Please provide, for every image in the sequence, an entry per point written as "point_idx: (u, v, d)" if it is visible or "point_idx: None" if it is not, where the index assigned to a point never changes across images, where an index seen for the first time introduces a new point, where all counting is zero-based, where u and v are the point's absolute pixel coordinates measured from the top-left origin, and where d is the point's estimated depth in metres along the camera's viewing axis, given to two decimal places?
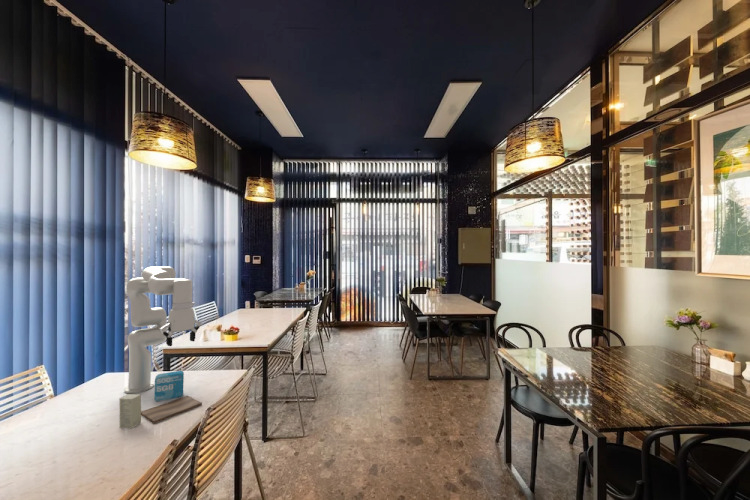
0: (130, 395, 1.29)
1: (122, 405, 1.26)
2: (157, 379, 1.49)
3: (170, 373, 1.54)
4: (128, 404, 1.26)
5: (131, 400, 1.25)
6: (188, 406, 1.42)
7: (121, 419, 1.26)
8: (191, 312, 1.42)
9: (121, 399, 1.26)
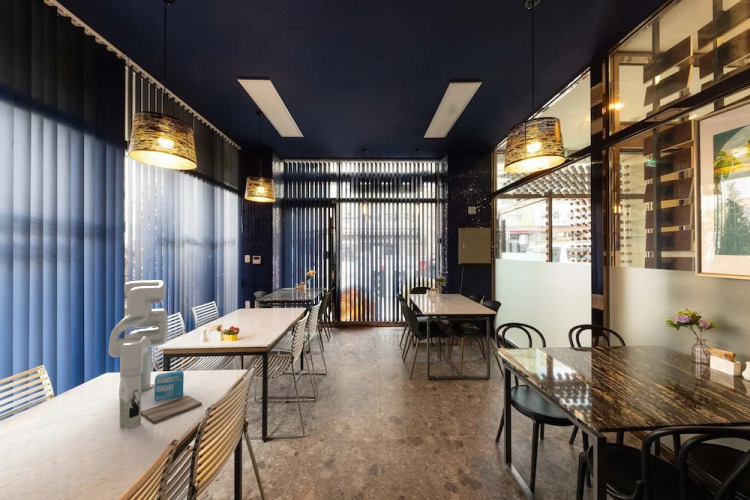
0: None
1: (122, 405, 1.26)
2: (157, 379, 1.49)
3: (170, 373, 1.54)
4: (128, 404, 1.26)
5: None
6: (188, 406, 1.42)
7: (121, 419, 1.26)
8: None
9: (121, 399, 1.26)
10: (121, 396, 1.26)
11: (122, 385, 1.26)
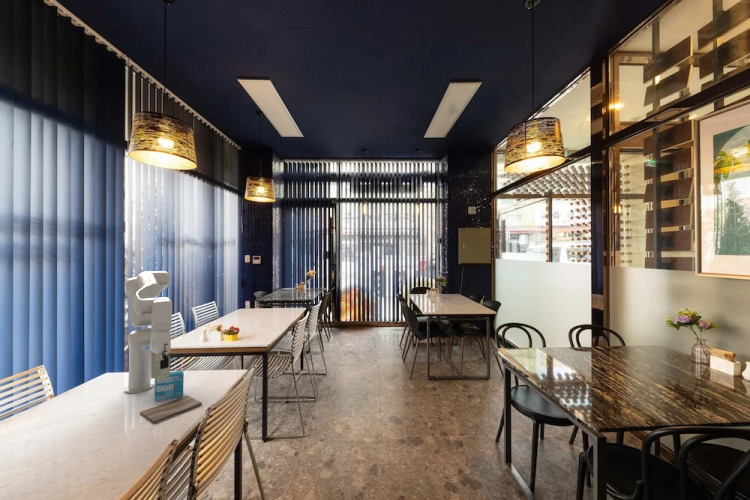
0: None
1: (153, 357, 1.35)
2: (157, 379, 1.49)
3: (170, 373, 1.54)
4: (159, 356, 1.35)
5: None
6: (188, 406, 1.42)
7: (152, 370, 1.35)
8: None
9: (152, 352, 1.36)
10: (152, 349, 1.36)
11: (153, 339, 1.36)
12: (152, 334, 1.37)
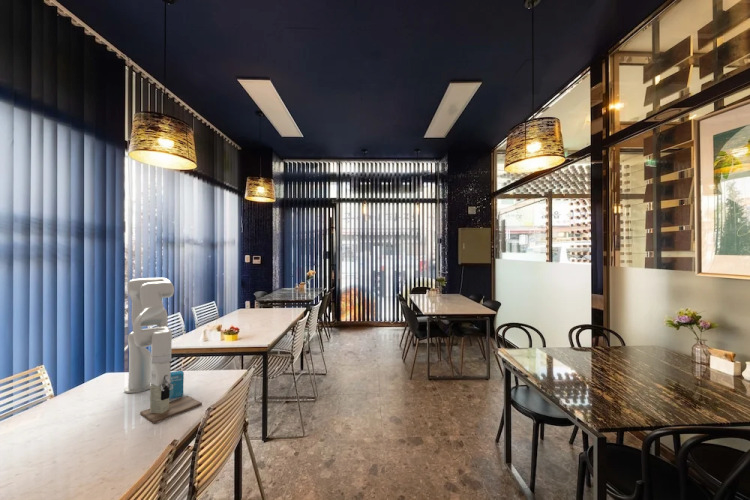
0: None
1: (153, 392, 1.35)
2: None
3: None
4: (158, 391, 1.35)
5: None
6: (188, 406, 1.42)
7: (152, 405, 1.35)
8: None
9: (152, 387, 1.35)
10: (152, 381, 1.35)
11: (153, 371, 1.35)
12: (152, 365, 1.36)
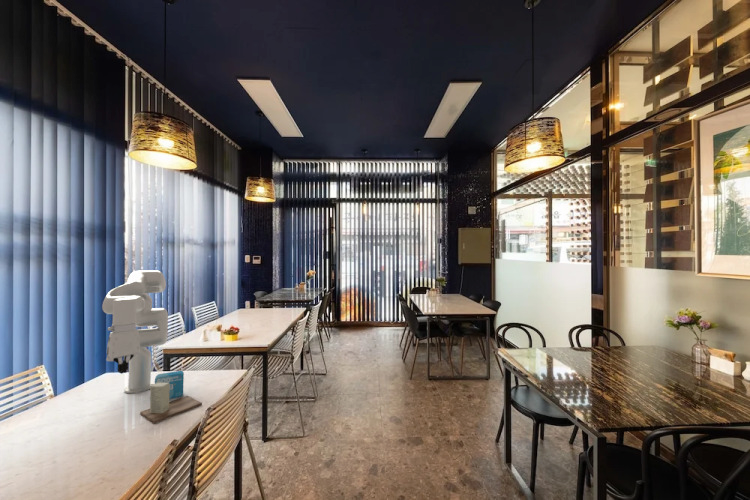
0: (160, 383, 1.38)
1: (153, 392, 1.35)
2: (157, 379, 1.49)
3: (170, 373, 1.54)
4: (158, 391, 1.35)
5: (161, 387, 1.35)
6: (188, 406, 1.42)
7: (152, 405, 1.35)
8: None
9: (152, 387, 1.35)
10: (122, 353, 1.23)
11: (125, 341, 1.24)
12: (119, 337, 1.23)
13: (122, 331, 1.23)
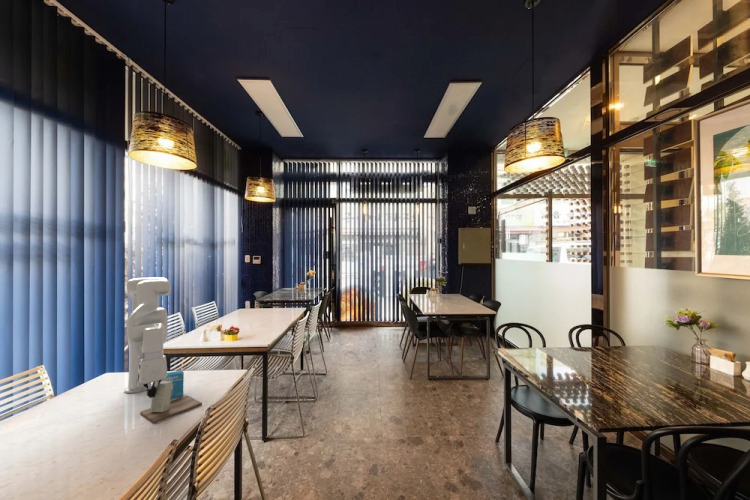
0: (163, 381, 1.40)
1: None
2: None
3: (170, 373, 1.54)
4: (161, 388, 1.37)
5: (164, 385, 1.37)
6: (188, 406, 1.42)
7: (153, 403, 1.36)
8: None
9: None
10: (151, 379, 1.32)
11: (154, 367, 1.33)
12: (149, 364, 1.31)
13: (151, 358, 1.32)
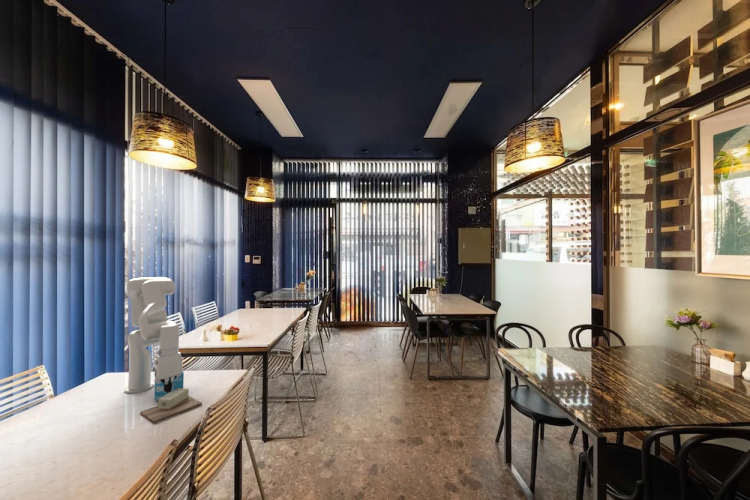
0: None
1: (176, 390, 1.49)
2: None
3: None
4: (182, 390, 1.49)
5: (187, 389, 1.51)
6: (188, 406, 1.42)
7: (166, 395, 1.43)
8: None
9: (178, 388, 1.51)
10: (168, 374, 1.37)
11: (170, 363, 1.38)
12: (165, 360, 1.37)
13: (168, 355, 1.37)
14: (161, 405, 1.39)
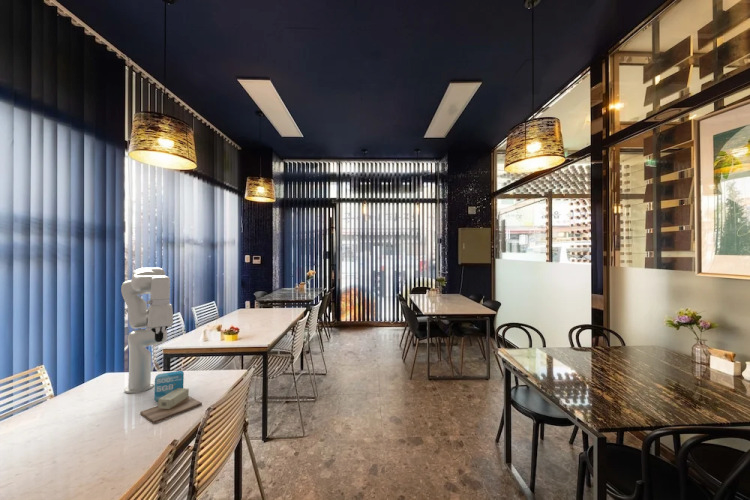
0: None
1: (176, 390, 1.49)
2: (157, 379, 1.49)
3: (170, 373, 1.54)
4: (182, 390, 1.49)
5: (187, 389, 1.51)
6: (188, 406, 1.42)
7: (166, 395, 1.43)
8: None
9: (178, 388, 1.51)
10: (159, 324, 1.42)
11: (161, 313, 1.42)
12: (156, 310, 1.41)
13: (159, 304, 1.41)
14: (161, 405, 1.39)
